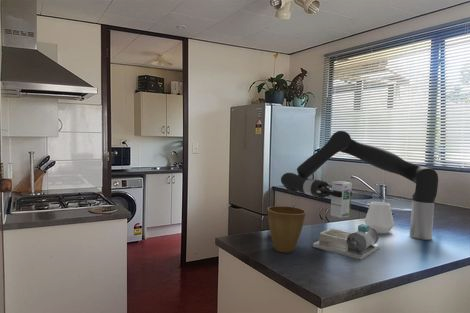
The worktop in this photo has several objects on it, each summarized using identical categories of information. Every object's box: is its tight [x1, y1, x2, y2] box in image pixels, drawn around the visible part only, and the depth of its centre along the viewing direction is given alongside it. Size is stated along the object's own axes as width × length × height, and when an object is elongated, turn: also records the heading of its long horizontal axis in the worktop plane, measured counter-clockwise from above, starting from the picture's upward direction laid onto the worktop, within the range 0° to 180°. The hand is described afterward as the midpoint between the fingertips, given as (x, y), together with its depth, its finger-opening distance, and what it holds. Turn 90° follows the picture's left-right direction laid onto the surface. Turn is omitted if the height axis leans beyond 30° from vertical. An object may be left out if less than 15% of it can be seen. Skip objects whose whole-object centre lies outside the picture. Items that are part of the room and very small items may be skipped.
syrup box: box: [330, 180, 353, 219], centre depth 145 cm, size 6×6×14 cm
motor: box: [312, 223, 381, 260], centre depth 143 cm, size 20×20×10 cm
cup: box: [364, 201, 395, 234], centre depth 172 cm, size 13×13×14 cm
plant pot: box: [267, 205, 307, 254], centre depth 137 cm, size 15×15×16 cm
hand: (346, 194), depth 142 cm, fingers closed on syrup box, 5 cm apart
